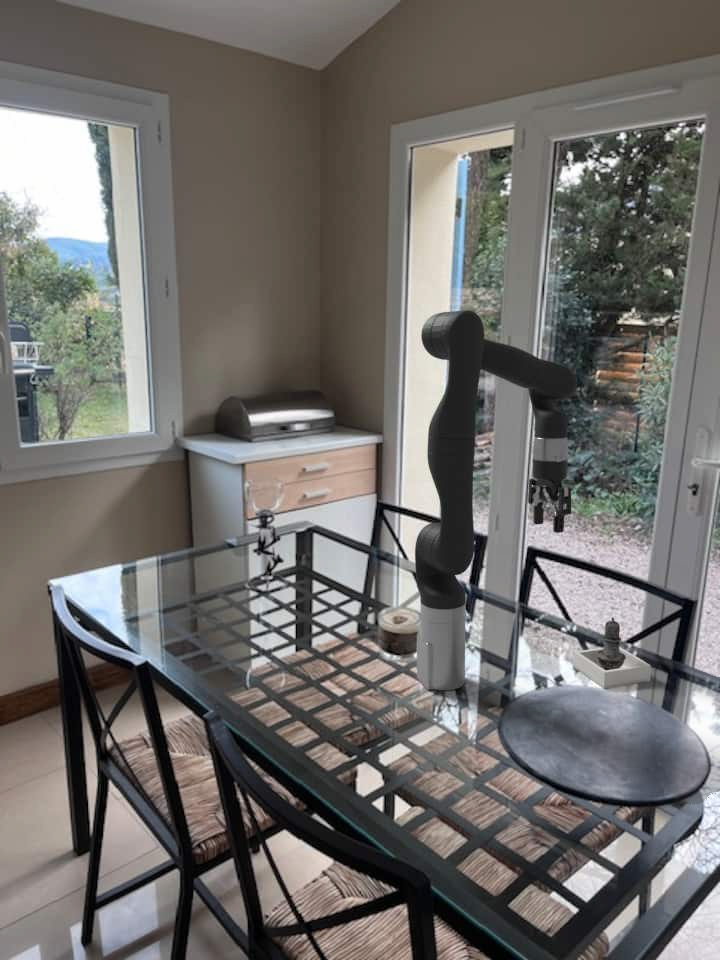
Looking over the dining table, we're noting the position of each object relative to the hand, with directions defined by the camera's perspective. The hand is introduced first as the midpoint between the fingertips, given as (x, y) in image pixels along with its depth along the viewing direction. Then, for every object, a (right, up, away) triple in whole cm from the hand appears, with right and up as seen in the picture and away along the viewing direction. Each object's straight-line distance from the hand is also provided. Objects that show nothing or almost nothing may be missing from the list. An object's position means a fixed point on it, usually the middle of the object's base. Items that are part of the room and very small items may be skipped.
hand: (548, 528), depth 163 cm
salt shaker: (+10, -30, -11) cm, 33 cm away
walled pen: (+10, -30, -11) cm, 34 cm away
